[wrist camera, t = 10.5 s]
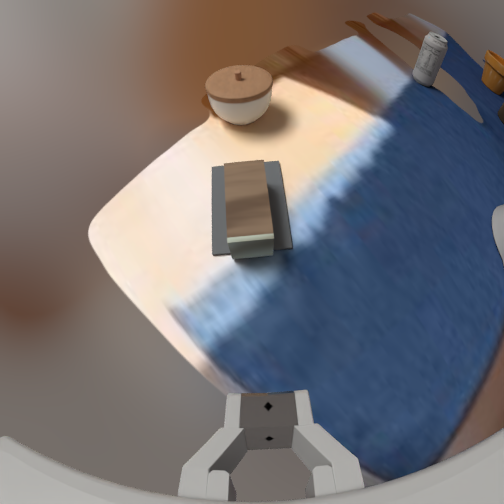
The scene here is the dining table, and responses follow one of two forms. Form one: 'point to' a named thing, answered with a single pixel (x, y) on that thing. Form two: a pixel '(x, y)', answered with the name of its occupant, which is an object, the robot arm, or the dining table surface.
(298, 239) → the dining table surface
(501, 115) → the pillar candle
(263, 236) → the walnut block
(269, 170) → the felt mat
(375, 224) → the dining table surface
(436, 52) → the energy drink can
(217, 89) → the lidded jar
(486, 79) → the flower pot
